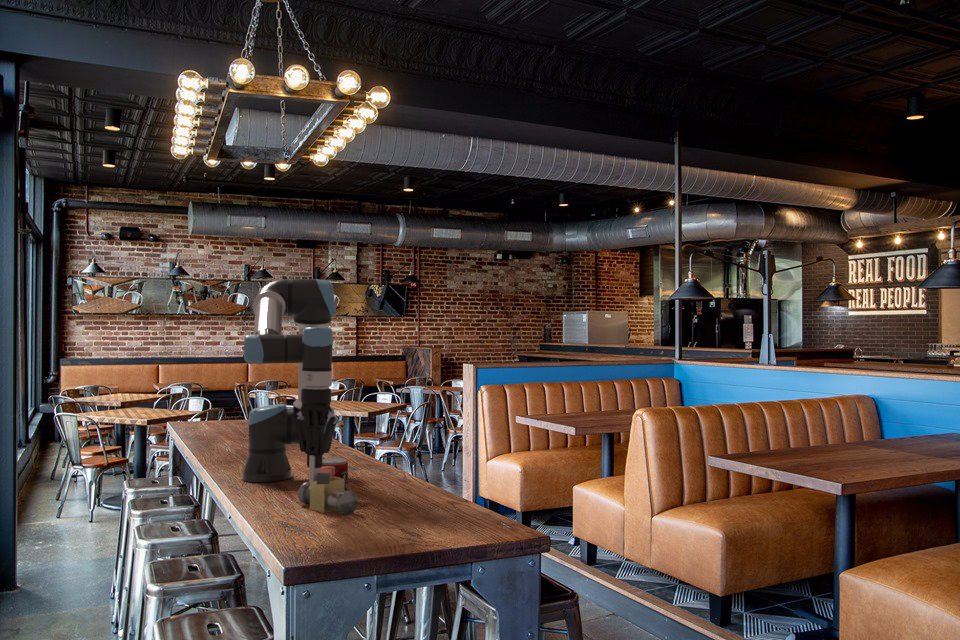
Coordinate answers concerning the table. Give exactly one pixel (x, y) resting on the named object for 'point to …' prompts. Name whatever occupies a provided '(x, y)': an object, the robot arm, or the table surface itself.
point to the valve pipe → (328, 496)
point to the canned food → (338, 468)
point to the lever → (325, 474)
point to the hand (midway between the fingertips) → (314, 480)
